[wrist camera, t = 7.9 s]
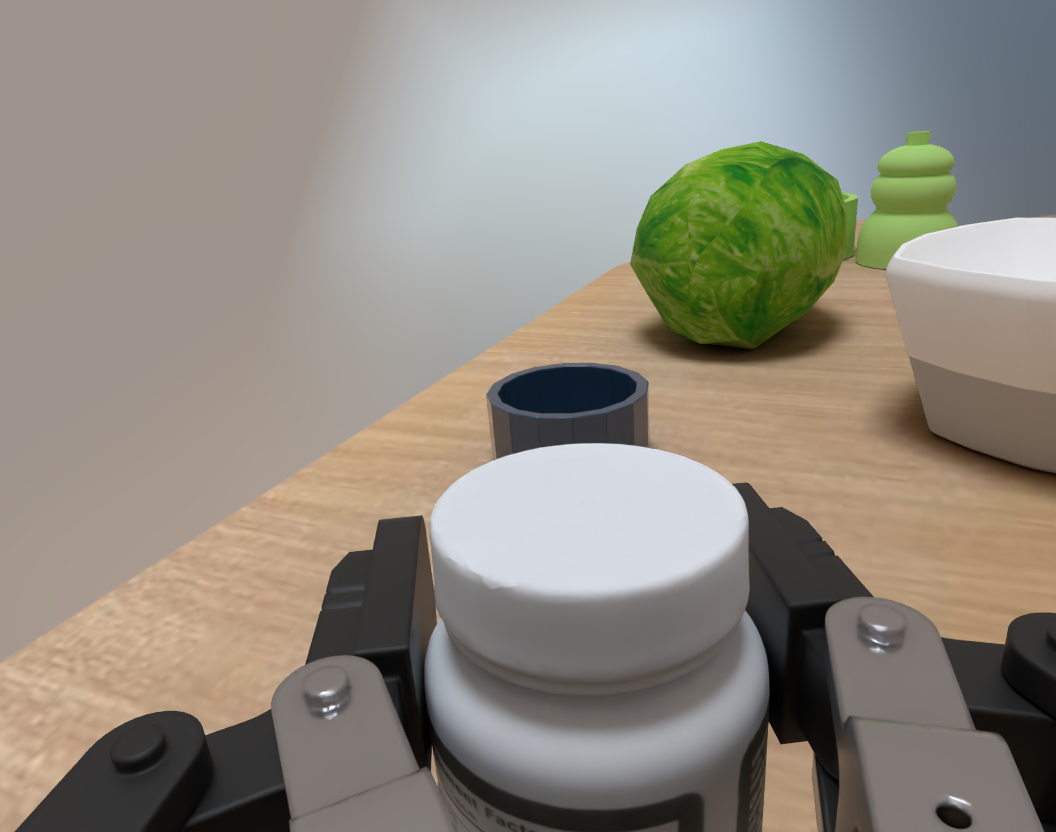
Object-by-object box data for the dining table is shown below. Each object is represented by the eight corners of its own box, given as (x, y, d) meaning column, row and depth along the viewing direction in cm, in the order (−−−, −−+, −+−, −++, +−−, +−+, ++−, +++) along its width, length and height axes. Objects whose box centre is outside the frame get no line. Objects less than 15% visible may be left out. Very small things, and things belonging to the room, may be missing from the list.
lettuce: (679, 316, 74) (841, 349, 68) (580, 325, 55) (793, 372, 48) (711, 160, 71) (886, 178, 64) (616, 111, 52) (852, 129, 45)
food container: (695, 261, 87) (696, 145, 82) (754, 240, 97) (757, 135, 92) (933, 278, 71) (950, 135, 66) (974, 250, 81) (991, 124, 76)
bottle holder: (463, 475, 40) (455, 404, 38) (546, 420, 46) (541, 356, 44) (603, 508, 35) (600, 428, 34) (674, 441, 41) (673, 372, 40)
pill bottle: (614, 781, 16) (601, 405, 13) (814, 964, 12) (864, 499, 9) (412, 924, 13) (337, 496, 10) (591, 1208, 10) (555, 677, 7)
